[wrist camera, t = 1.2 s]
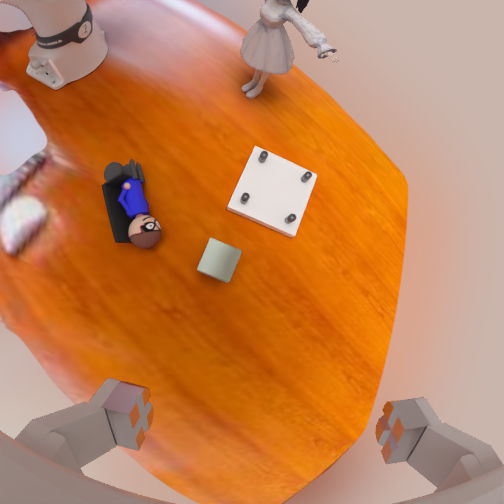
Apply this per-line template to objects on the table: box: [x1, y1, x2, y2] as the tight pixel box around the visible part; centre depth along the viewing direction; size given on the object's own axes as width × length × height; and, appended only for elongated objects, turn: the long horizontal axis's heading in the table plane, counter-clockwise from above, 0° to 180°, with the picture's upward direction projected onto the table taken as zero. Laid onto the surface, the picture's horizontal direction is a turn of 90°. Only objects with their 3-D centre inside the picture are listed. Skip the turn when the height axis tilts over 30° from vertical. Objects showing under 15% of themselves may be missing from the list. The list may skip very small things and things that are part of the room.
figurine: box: [240, 0, 338, 99], centre depth 38 cm, size 25×8×30 cm, turn 34°
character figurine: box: [102, 159, 161, 249], centre depth 43 cm, size 8×7×15 cm
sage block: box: [197, 237, 242, 283], centre depth 44 cm, size 4×4×10 cm
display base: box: [227, 146, 317, 238], centre depth 49 cm, size 12×12×4 cm
